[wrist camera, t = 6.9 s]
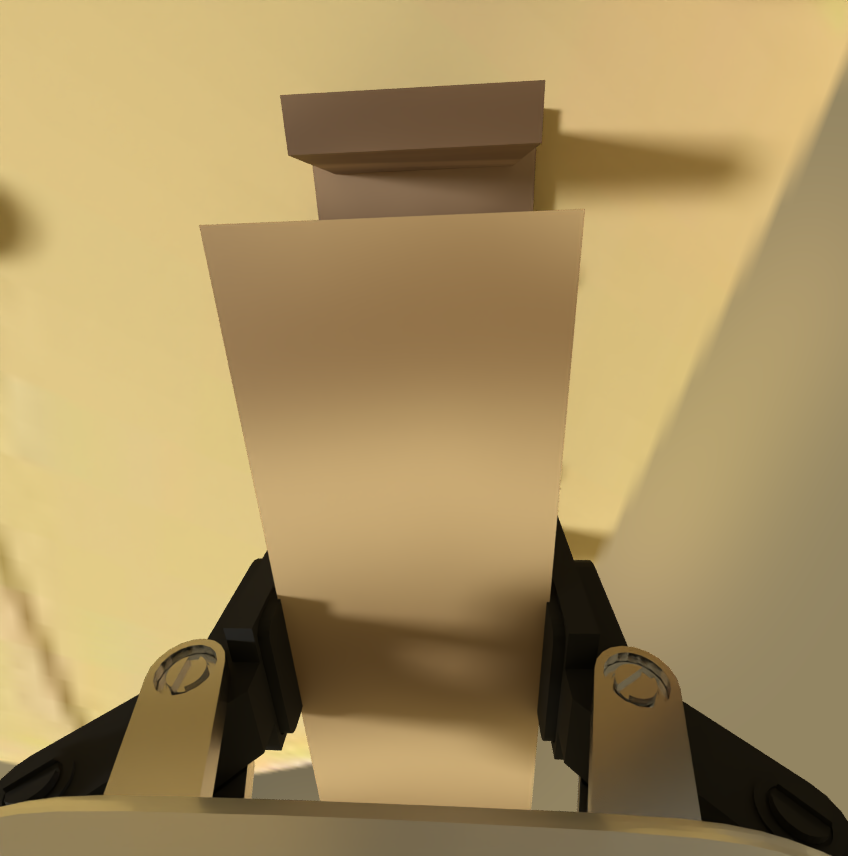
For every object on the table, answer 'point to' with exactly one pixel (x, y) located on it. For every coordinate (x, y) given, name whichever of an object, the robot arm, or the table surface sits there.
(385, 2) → the table surface
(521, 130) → the holder
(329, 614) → the plank
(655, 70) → the table surface
